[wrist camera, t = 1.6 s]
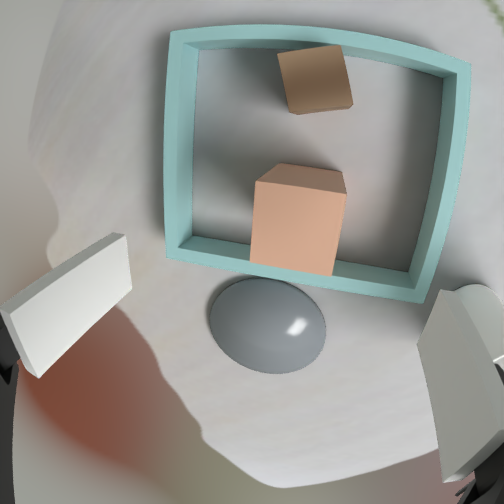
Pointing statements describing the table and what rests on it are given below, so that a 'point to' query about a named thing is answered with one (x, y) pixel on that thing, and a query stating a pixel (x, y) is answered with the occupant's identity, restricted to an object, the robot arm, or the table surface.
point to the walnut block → (315, 80)
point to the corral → (353, 44)
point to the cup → (486, 317)
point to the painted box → (298, 218)
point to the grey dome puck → (268, 325)
